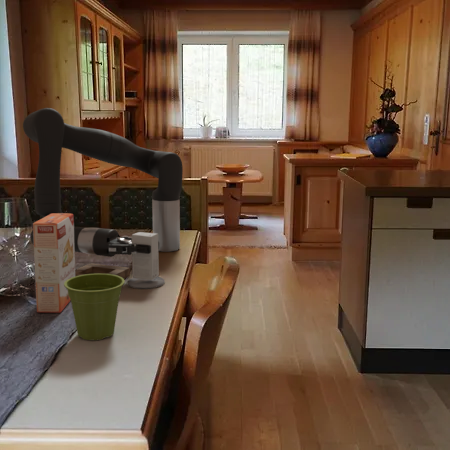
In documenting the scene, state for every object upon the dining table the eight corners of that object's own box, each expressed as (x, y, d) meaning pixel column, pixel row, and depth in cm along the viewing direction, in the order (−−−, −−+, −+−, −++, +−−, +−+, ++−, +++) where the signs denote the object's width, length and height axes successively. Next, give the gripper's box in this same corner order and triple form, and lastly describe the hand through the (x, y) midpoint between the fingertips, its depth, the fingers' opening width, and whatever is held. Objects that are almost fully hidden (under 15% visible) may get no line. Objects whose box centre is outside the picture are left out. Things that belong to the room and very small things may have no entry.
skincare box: (159, 276, 143) (158, 233, 141) (152, 280, 139) (151, 236, 137) (139, 273, 145) (138, 231, 143) (131, 278, 141) (130, 234, 139)
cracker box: (62, 313, 119) (58, 222, 115) (35, 313, 119) (30, 222, 115) (78, 294, 133) (74, 212, 129) (54, 294, 133) (49, 212, 129)
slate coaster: (138, 276, 149) (138, 274, 148) (170, 280, 145) (170, 277, 145) (120, 286, 139) (120, 284, 139) (154, 290, 136) (154, 288, 136)
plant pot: (70, 350, 100) (68, 293, 98) (63, 328, 111) (60, 276, 108) (132, 340, 105) (130, 286, 102) (119, 320, 115) (117, 270, 113)
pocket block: (90, 271, 153) (90, 263, 153) (129, 275, 149) (129, 267, 148) (62, 283, 141) (62, 275, 141) (105, 289, 137) (104, 280, 136)
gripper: (83, 233, 138) (141, 239, 132) (112, 223, 151) (166, 228, 145) (84, 261, 139) (142, 268, 134) (112, 249, 152) (166, 255, 147)
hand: (154, 247), depth 140 cm, fingers closed on skincare box, 4 cm apart
